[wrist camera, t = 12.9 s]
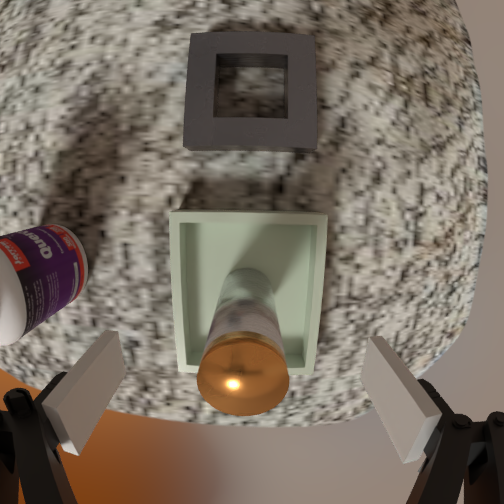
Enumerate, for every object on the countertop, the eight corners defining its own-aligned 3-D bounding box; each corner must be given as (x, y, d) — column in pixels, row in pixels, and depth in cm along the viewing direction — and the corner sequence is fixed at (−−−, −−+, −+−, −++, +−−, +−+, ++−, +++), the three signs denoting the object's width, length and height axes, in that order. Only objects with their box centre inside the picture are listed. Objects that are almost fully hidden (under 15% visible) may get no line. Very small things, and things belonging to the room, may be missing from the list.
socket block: (196, 48, 22) (190, 33, 19) (308, 50, 22) (314, 35, 19) (190, 151, 24) (182, 146, 21) (309, 153, 24) (316, 148, 21)
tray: (178, 209, 25) (169, 212, 22) (319, 212, 25) (328, 215, 22) (184, 355, 28) (178, 371, 25) (307, 357, 28) (312, 374, 25)
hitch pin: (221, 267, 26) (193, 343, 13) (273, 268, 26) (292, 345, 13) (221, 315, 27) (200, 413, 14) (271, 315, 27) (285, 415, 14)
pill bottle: (96, 230, 26) (-14, 269, 12) (90, 308, 27) (3, 383, 13) (35, 216, 25) (-71, 240, 11) (33, 287, 27) (-57, 339, 13)
